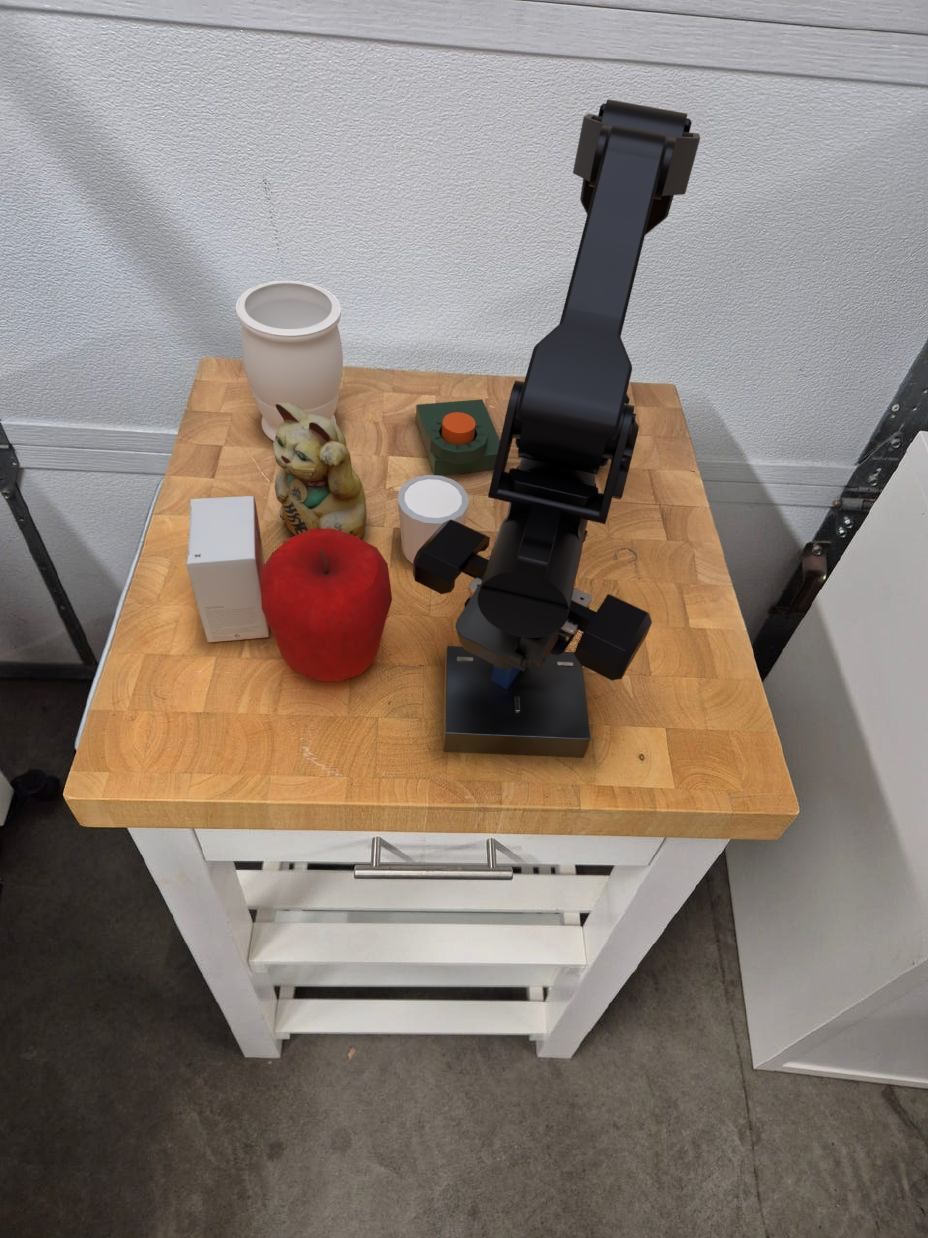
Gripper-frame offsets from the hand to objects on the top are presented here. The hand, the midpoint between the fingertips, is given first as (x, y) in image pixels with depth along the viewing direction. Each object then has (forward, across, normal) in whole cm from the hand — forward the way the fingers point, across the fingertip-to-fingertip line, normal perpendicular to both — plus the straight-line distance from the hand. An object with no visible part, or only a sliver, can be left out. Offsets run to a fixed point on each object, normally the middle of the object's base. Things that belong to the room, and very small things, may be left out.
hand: (516, 658), depth 71 cm
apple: (+4, -15, -7) cm, 17 cm away
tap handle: (0, 0, 0) cm, 0 cm away
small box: (+4, -25, -7) cm, 27 cm away
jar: (+4, -38, +18) cm, 42 cm away
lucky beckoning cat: (+4, -25, +6) cm, 26 cm away
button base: (+4, -21, +26) cm, 34 cm away
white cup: (+4, -15, +10) cm, 18 cm away
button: (0, -20, +23) cm, 31 cm away
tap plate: (+3, +1, -1) cm, 4 cm away
